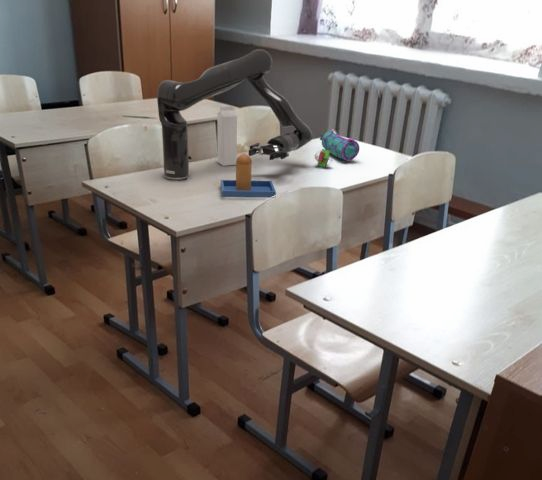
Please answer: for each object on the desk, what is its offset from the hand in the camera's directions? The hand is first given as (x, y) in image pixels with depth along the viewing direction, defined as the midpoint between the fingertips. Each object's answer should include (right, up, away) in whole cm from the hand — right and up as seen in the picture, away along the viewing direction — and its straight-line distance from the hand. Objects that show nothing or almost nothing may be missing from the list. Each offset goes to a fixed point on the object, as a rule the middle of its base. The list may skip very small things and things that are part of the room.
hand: (259, 155), depth 215 cm
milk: (-14, +6, +28) cm, 32 cm away
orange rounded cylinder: (-6, -14, -3) cm, 15 cm away
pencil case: (+34, +15, +47) cm, 59 cm away
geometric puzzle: (+26, +6, +32) cm, 42 cm away
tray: (-4, -15, -3) cm, 15 cm away
